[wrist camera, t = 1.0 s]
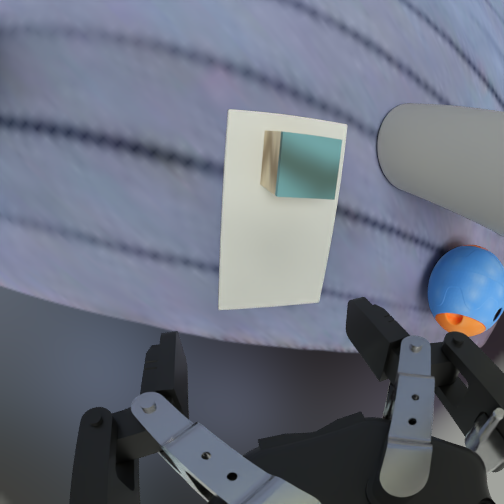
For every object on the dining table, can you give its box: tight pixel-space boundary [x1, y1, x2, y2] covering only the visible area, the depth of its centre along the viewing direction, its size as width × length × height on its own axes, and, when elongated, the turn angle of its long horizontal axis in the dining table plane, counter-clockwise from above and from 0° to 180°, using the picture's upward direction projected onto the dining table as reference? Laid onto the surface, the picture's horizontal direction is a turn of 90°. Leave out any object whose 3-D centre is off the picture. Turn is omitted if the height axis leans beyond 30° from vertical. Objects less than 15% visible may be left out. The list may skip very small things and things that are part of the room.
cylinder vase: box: [377, 103, 504, 237], centre depth 24 cm, size 12×12×25 cm
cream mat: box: [218, 109, 347, 310], centre depth 35 cm, size 24×14×1 cm, turn 176°
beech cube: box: [260, 130, 342, 200], centre depth 29 cm, size 6×6×6 cm
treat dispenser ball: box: [428, 245, 504, 336], centre depth 40 cm, size 16×15×15 cm
